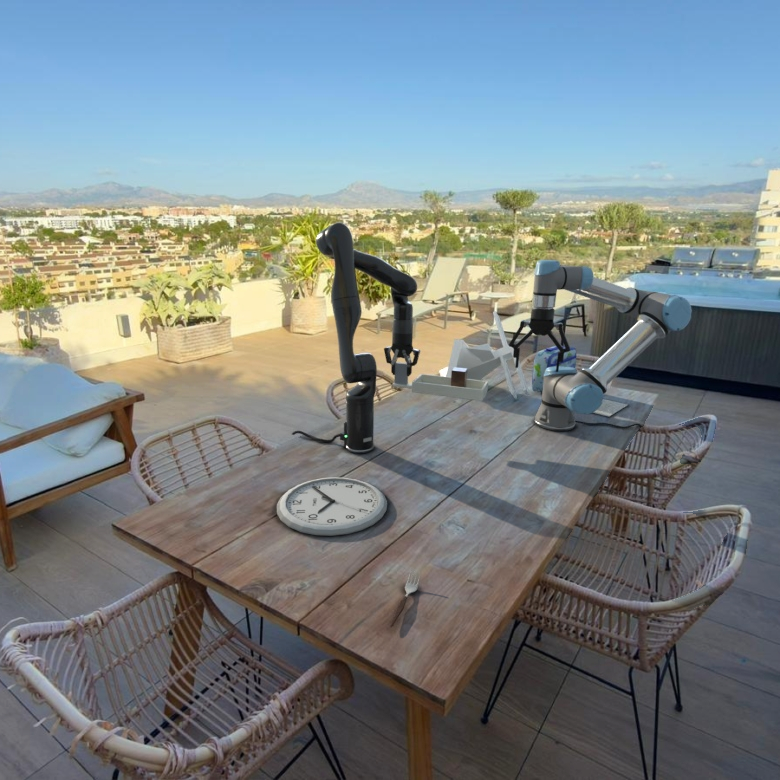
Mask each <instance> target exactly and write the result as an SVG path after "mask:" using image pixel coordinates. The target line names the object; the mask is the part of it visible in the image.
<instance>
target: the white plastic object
mask: <svg viewBox="0 0 780 780" xmlns="http://www.w3.org/2000/svg"><path fill="white" fill-rule="evenodd" d="M492 315H493V319H494V321H495V324H496V325H495V326H496V328H497V332H498V335H499V338H500V342H501V345H502V347H500V348H498V349H496V350H495V349H493V348H492V347H491V346H490V344H489V343H488V342H487V343H483V344H479V345H473V346H469V345H468V343H466V342H465V340H464V339H463V338H460V339H458V338H454V340H453V344H452V349H451V353H450V357H449V362H448V366H446V367H444V368H442V369H440V370H439V371H438V372H439V376H445V377H451V372H452V369H453V368H454V367H458V368H467V369H468V370H467V379H472V380H481V381H484V378H485V377H486V376H487V375H489V374H490V373H492V372H494V371H495V370H496V369H497V368H499V367H500V366H502V370H503V373H504V376H505V380H506V383H507V386H508V390H509V393H510V394H511V395H512V397H513V398H514V399H515V400H517V392H516V391H517V390H516V388H515V385H514V381H513V378H512V375H511V371H510V369H509V365H508V361H510V360H513V363H514V366H516V358H514V357H513V352H514V349H513V348H512V347H510V346H509V343H508V341H507V337H506V334H505V331H504V328H503V325H502V321H501V318H500V315H499V314H498V312H497V311H496V310H495V311H492ZM522 368H523V367H522V366H521V362H520V361H519V364H518V368H515V369H516V372H517V376H518V380H519V382H520V385H521V389H522V391H523V393H524V395H525V396H526V397H528V396H531V395H530V390H529V388H528V387H529V386H528V384H527V381H526V378H525V375H524V371H523V369H522Z"/></svg>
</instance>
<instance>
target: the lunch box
mask: <svg viewBox="0 0 780 780" xmlns="http://www.w3.org/2000/svg"><path fill="white" fill-rule="evenodd" d="M562 347H563V348H565V346H564V345H562ZM558 351H559V349H558V348H557V346H556V345H553V346H550V347H546V348H545V349H542V350H539V351H538V352H537V353H536V354H535V356H534V358H533V365H532V376H531V377H532V378H531V390H532V391H533V392H537V393H542V391H543V382H544V373H545V370H546V369H547V368H548V367H557V358H558ZM576 362H577V348H576V347H571V346H570V351H569V352H565V353H564V358H563V362H559V366H560V367H572V368H576V364H577V363H576Z"/></svg>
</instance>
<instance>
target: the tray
mask: <svg viewBox="0 0 780 780" xmlns="http://www.w3.org/2000/svg"><path fill="white" fill-rule="evenodd" d="M407 367H408V366H407V363H406V362H399V361H396V363H395V375H394V382H393V383H391V387H393V388H401V389H410V390H411V393H413V394H414V393H415V394H422V395H423V394H424V395H430V396H439V397H447V398H456V399H462V400H463V399H464V400H471V401H479V402H483V400H484V399H485V397H486V395H487V393H488V389H489V381H488V380H482V381H481V380H472V379H467V384H466V388H464V387H456V386H451V377H445V376H440V375H435V374H427V373H420V374H419V375H418V376H417V377H416V378H415V379H414V380H412V382H409V376H407Z"/></svg>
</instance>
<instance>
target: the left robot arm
mask: <svg viewBox="0 0 780 780" xmlns="http://www.w3.org/2000/svg"><path fill="white" fill-rule="evenodd" d="M315 245H316V248H317V249H318V252H320V253H321V254H322V255H324V256H325V257H327V258H330V259H332V260H333V261H334V275H333V280H332V284H331V289H330V290H331V292H330V301H331V307H332V314H333V318H334V323H335V329H336V335H337V343H338V345H337V346H338V356H339V367H340V373H341V376H342V378H343V380H344V382H345V383H347V384H356V383H357V384H356V385H355V386H354V387H352V388H351V389H350V390H348V391H347V392H346V393H345V406H346V407H345V408H346V409H345V412H346V414H345V415H346V420H345V421H344V422H343V431H342V432H340V433H337V434H335V435H334V436H333V437H332V438H331V439H323V438H319V437H316V436H314V435H311V434H308V433H306V432H305V431H302V430H294V431H293V432H291V435H293V436H295V435H297V434H299V435H302V436H305V437H307V438H309V439H311V440H314V441H316V442H321V443H325V444H326V443H328V444H329V443H333V442H334V441H336V439H337V438H338V437H339V440H340V441H343V448H344V449H346V451H348V452H350V453H353V454H367V453H370V452H372V451H373V450H374V448H375V444H374V432H375V431H374V424H375V423H374V420H375V418H374V415H375V414H374V413H375V411H374V410H375V408H374V407H375V405H374V404H375V394H376V391H377V389H376V387H377V376H378V375H377V372H378V367H377V361H376V358H375V357H374V355H373V354H372V353H370V352H361V353H354V337H355V334H356V331H357V328H358V326H359V324H360V320H361V318H362V304H361V298H360V292H359V286H358V280H357V274H356V273H357V272H356V270H357V271H359V272H361V273H363V274H365V275H367V276H368V277H370V278H371V279H373V280H375V281H377V282H378V283H380V284H382V285H384V286H387V287H390V295H391V301H392V305H393V320H392V328H391V330H392V332H391V333H392V334H391V336H392V337H391V338H392V339H391V341H392V342H391V346H385V347H384V348H383V351H384V356H385V361H386V363H387V364H389V365H390V367H391V368H390V371H391V372H390V373H391V374H392V376H395V363H396V362H398V359H400V358H401V359H404V361H405V363H407V366H408V367H407V376H408V377H410V376H411V375H412V373H413V367H415V366H417V364H418V361H419V357H420V354H421V350H420V349H416V348H414V346H413V337H414V336H413V334H414V321H413V319H414V318H413V315H414V311H413V310H414V306H413V304H412V303H411V302H410V301H409V297H412V296H414V295H415V294H416V293H417V291H418V283H417V281H416V279H415V278H414V277H413V276H411V275H409V274H407V273H405V272H403V271H401V270H399V269H397V268H395V267H393V266H392V265H391V264H390V263H388V262H387V261H385V260H384V259H382V258H380V257H378V256H375V255H372V254H369V253H366V252H362V251H360V250H357V249H354V239H353V234H352V231H351V229H350V228H349V227H348V226H347V225H346V224H345V223H343V222H335V223H333V224H331V225H329V226H328V227H325V228H324V229H323V230H321V231H320V232H318V234H317V236H316V239H315ZM391 353H393V357H392V355H391ZM411 354H413V360H412V357H411Z"/></svg>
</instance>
